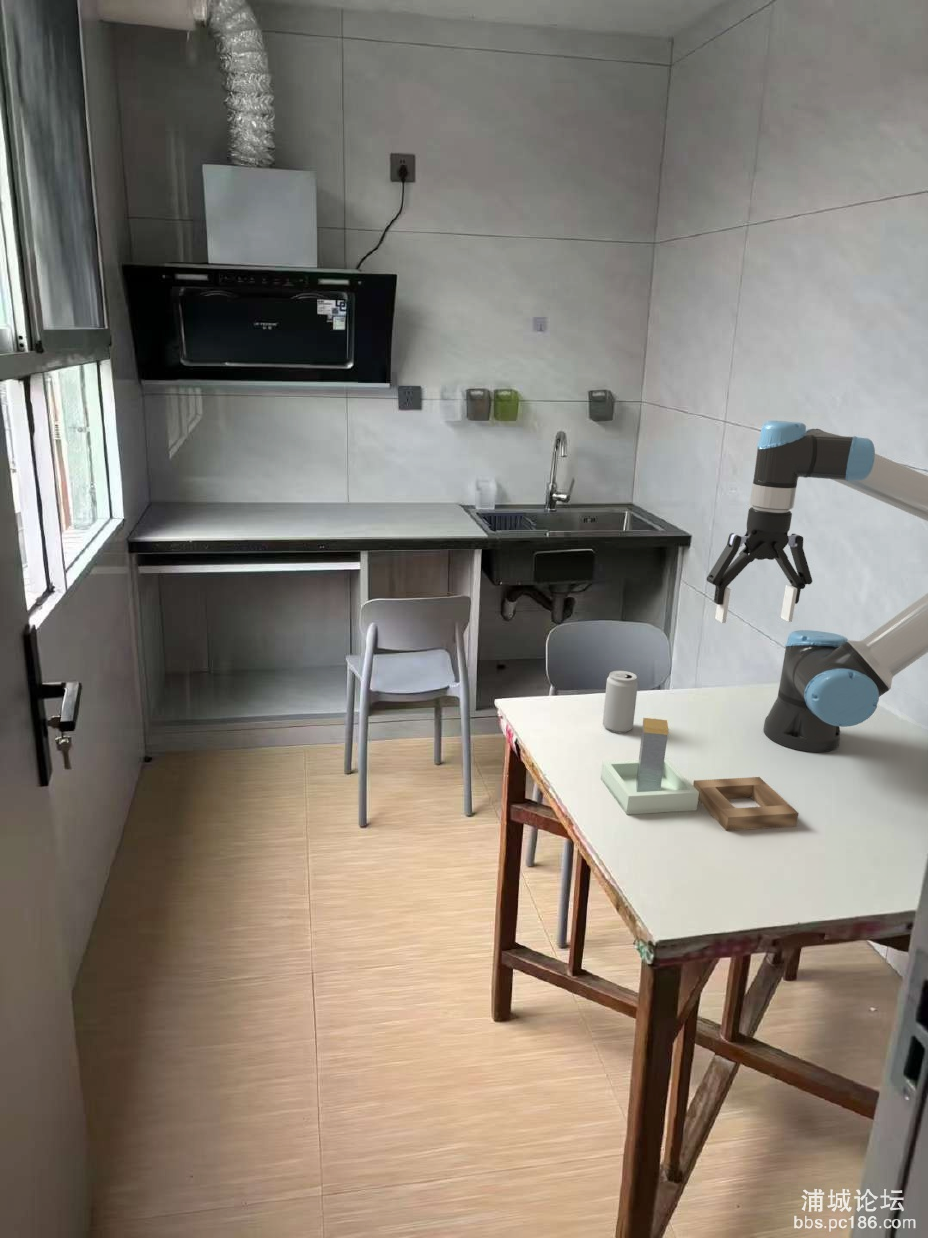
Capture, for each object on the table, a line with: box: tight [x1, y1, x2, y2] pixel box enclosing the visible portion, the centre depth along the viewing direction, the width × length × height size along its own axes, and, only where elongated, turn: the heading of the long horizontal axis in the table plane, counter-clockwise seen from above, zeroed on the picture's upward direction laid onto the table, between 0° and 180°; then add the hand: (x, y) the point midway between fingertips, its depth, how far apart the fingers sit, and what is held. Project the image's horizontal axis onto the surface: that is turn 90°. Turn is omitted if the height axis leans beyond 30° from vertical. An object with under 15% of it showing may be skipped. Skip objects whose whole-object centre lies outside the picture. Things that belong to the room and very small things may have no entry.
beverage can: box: [602, 670, 639, 734], centre depth 181 cm, size 6×6×12 cm
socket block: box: [692, 776, 799, 832], centre depth 152 cm, size 13×13×2 cm
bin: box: [600, 758, 699, 815], centre depth 156 cm, size 13×13×4 cm
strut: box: [636, 717, 670, 792], centre depth 154 cm, size 4×4×13 cm
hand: (753, 620), depth 163 cm, fingers open, 13 cm apart
